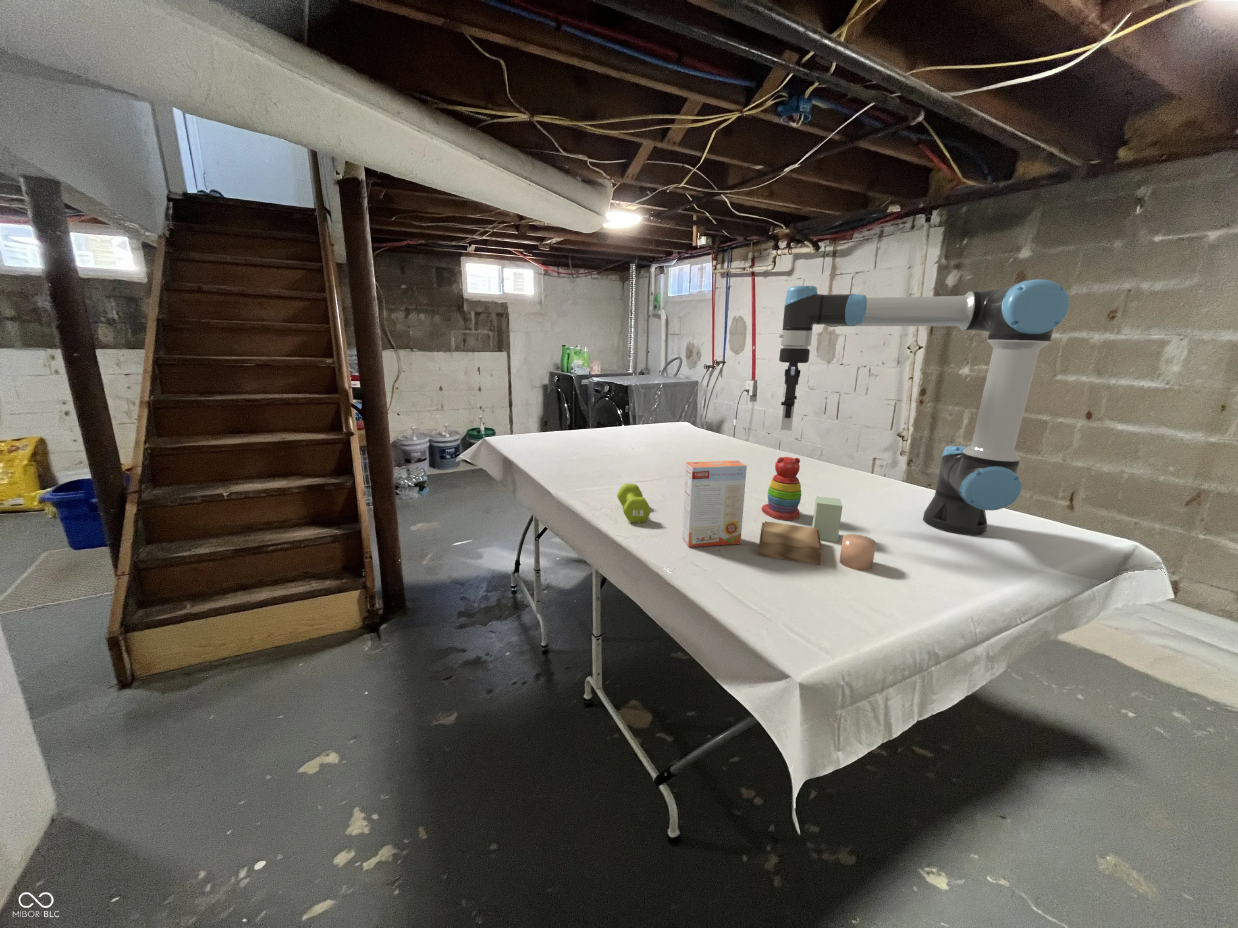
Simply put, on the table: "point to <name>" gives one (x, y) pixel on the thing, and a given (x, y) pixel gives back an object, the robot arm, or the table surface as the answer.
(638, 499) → the dumbbell
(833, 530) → the sage block
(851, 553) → the peach rounded cylinder
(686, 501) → the cracker box
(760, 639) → the table surface
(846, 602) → the table surface
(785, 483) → the stacking bear
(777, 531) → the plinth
